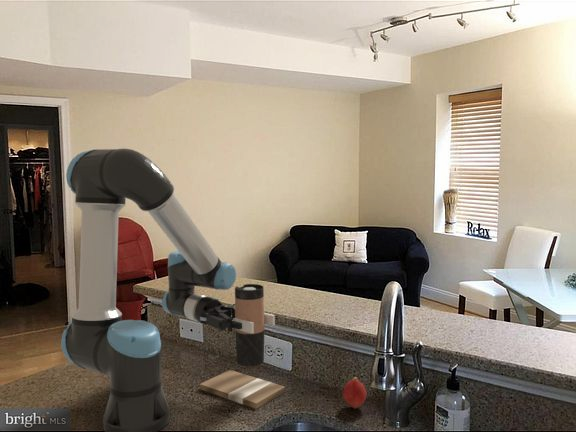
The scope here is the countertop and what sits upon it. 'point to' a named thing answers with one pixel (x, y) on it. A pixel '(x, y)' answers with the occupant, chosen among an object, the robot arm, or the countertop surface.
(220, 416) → the countertop surface
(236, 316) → the travel mug
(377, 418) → the countertop surface
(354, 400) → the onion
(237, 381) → the wooden cutting board
